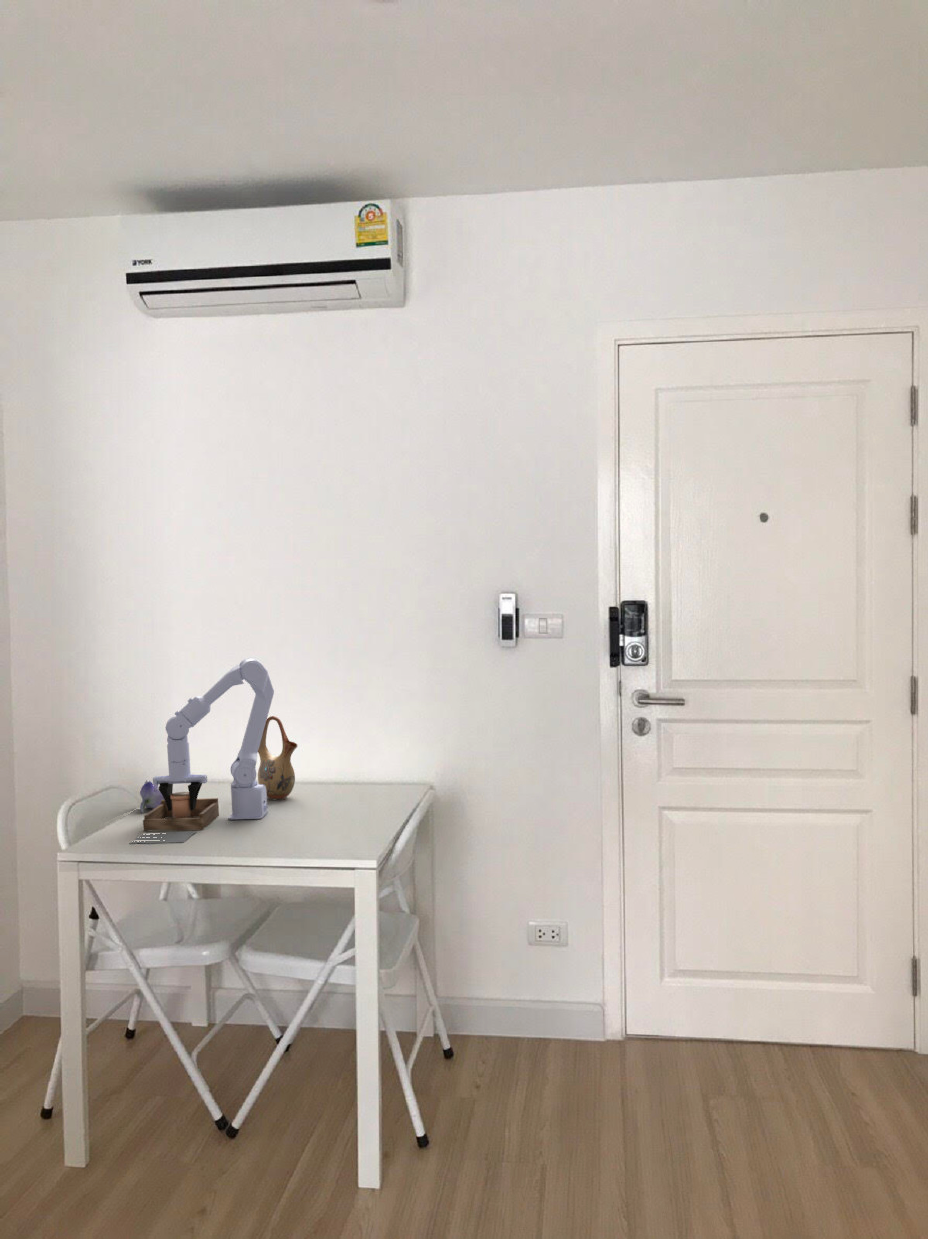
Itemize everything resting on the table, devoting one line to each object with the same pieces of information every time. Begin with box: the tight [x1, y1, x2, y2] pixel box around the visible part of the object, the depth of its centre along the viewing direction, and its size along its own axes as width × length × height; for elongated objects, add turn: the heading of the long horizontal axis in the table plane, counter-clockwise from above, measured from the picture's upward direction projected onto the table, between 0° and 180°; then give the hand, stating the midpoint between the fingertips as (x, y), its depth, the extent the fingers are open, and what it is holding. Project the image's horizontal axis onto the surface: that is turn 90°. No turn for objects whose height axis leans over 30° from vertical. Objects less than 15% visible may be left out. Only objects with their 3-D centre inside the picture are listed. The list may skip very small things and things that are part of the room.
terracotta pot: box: [170, 791, 191, 818], centre depth 276 cm, size 6×6×6 cm
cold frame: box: [142, 797, 220, 831], centre depth 277 cm, size 16×15×5 cm
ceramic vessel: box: [257, 715, 299, 800], centre depth 302 cm, size 16×9×25 cm, turn 62°
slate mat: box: [130, 831, 196, 845], centre depth 262 cm, size 14×10×1 cm
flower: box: [139, 779, 164, 814], centre depth 294 cm, size 9×9×10 cm
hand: (181, 809), depth 276 cm, fingers closed on terracotta pot, 6 cm apart
